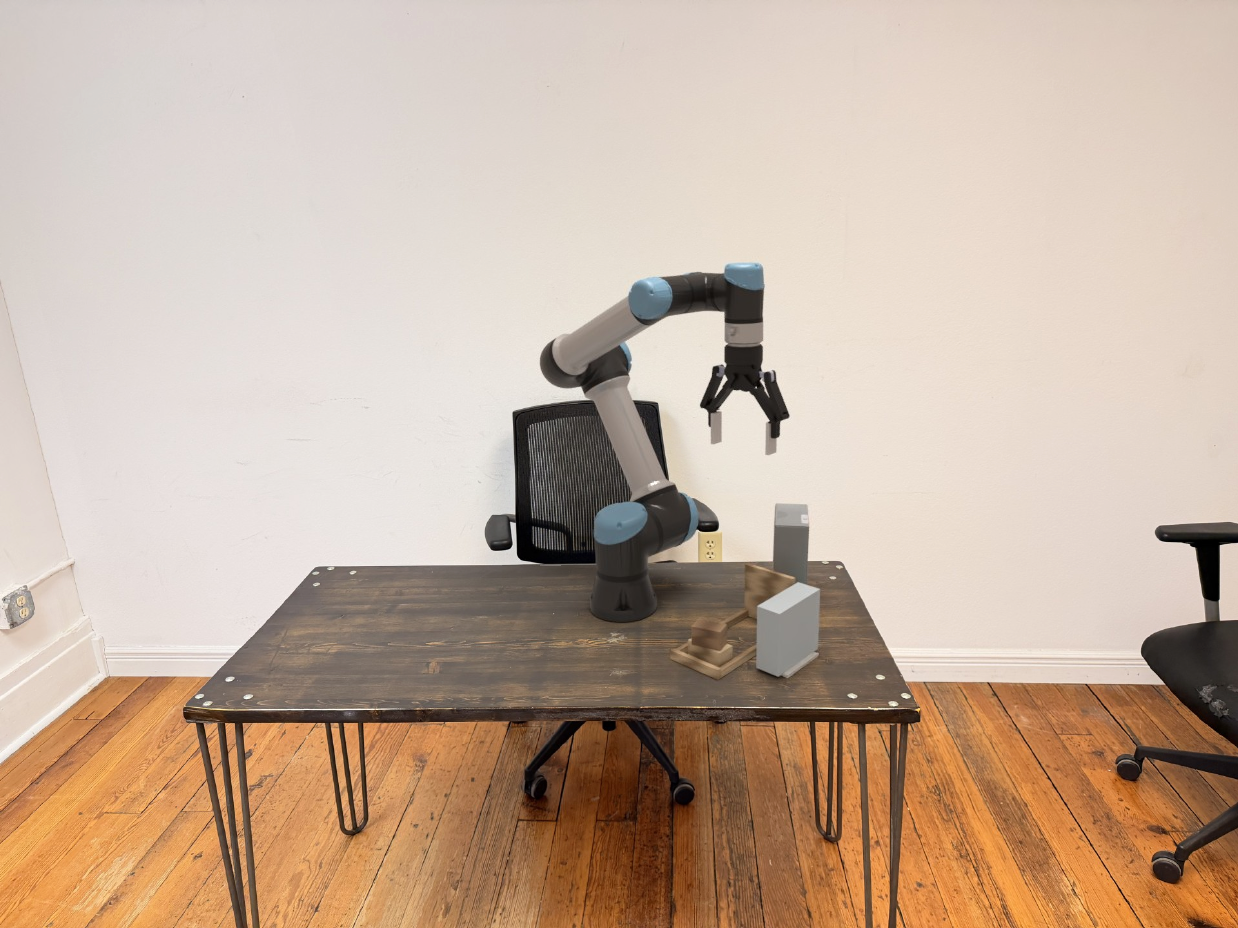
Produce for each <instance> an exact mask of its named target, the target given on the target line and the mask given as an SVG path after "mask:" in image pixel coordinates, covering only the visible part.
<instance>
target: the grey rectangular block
mask: <svg viewBox="0 0 1238 928" xmlns="http://www.w3.org/2000/svg"><path fill="white" fill-rule="evenodd" d="M820 603H821V589H820V588H819V587H815V586H812V585H808V584H807V585H806V584H802V583H799V582H798V583H796V584H794V585H792V586H791V587H789V588H787V589H786V590H784V591H782V592H780V593H779V594H777V595H775V596H774V597H772V598H770V599H769V600H767V601H765V602H763V603H762V604H760V605H758V606H757V619H756V644H757V653H756V655H755V658H756V661H755V662H756V665H755V666H756V667H755V668H756V669H758V670H761V671H763V672H766V673H768V674H770V675H773V676H776V677H778V678H779V677H781V674H783V673H784V672H786V671H787V670H789V669H790V668H791V667H793V666H794V665H796V664H797V663H798V662H800V661H801V660H803V659H804V658H806V657H807V656H808V655H810V654H811V653H813V652H816V651H817V650H819V634H820V633H819V631H820V609H821V608H820V607H821V606H820V605H821V604H820Z"/></svg>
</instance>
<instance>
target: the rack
mask: <svg viewBox="0 0 1238 928" xmlns="http://www.w3.org/2000/svg"><path fill="white" fill-rule="evenodd" d="M794 584H795V577H792V576H788V575H785V574H782V573H779V572H775V571H773V569H768V568H765V567H763V566H758V565H755V564H752V563H750V562H747V563H745V564H744V608H743V609H742V610H739V611H738V612H736V613H734V614H733V615H731V616H729V617H727V618H726V619H724V620H723V621H720V623H723V624H727V630H728V629H730V628H731V627H732V626H734V625H735V624H738V623H739V622H742V621H743V620H744V619H746V618H748V617H749V618H753V619H756V620H757V606H758V605H760V604H762V603H763V602H765V601H767V600H769V599H770V598H772V597H774V596H775V595H777V594H779V593H780V592H782V591H784V590H786V589H787V588H789V587H791V586H792V585H794ZM756 653H757V643H754V644H753V646H751V647H749V648H748V649H746V650H745V651H743V652H741V653H740V654H739V655H736V656H735V657H733V658H732V660H731V661H729V662H727V663H726V664H724V665H723V666H721V667H720V668H719V667H717V666H714V665H712V664H710V663H707V662H705V661H703V660H700V659H698V658H696V657H693V656H691V655H689V654H688V641H686V642H685V643H683V644H682V645H680V646H678V647H677V648H674V647H672V648H671V649H669V659H670V660H672V661H674V662H677V663H679V664H681V665H683V666H685V667H688V668H690V669H692V670H695V671H697V672H699V673H701V674H704V675H706V676H708V677H710V678H713V679H715V680H717V681H718V680H721V679H722V678H724V676H727V675H728V674H729V673H731V672H733V671H734V670H736V669H737V668H739V667H741V666H742V665H743V664H745V663H746V662H748V661H749V660H751V659H752V658H754V657H756Z"/></svg>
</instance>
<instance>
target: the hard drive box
mask: <svg viewBox="0 0 1238 928" xmlns="http://www.w3.org/2000/svg"><path fill="white" fill-rule="evenodd" d="M808 505H809V504H804V503H803V504H802V503H799V504H798V503H777V502H776V503H775V505H774V520H773V541H772V542H773V546H772V547H773V549H772V554H773V555H772V571H775V572H779V573H782V574H785V575H788V576H792V577H795V584H796V583H798V582H799V583H802V584H806V585H808V565H809V563H808V562H809V561H808V559H809V539H810V519H809V506H808Z"/></svg>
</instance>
